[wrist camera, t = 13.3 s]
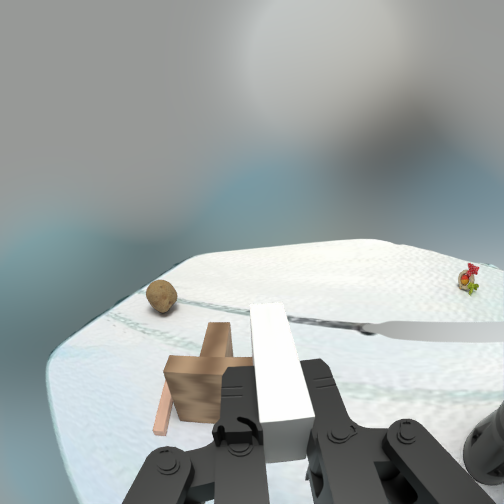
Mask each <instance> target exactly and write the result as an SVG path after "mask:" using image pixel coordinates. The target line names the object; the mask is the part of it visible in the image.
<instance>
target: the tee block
mask: <svg viewBox="0 0 504 504" xmlns="http://www.w3.org/2000/svg"><path fill="white" fill-rule="evenodd" d="M236 366H253V357H233V349H232V339H231V328H230V322H209V323H208V327H207V330H206V334H205V338H204V342H203V346H202V349H201V353H200V357H194V356H174V355H169V358H168V361H167V363H166V366H165V368H164V371H163V373H164V376H165V379H166V382H167V385H168V388H169V391H170V394H171V397H172V400H173V402H174V405H175V408H176V411H177V413H178V416H179V419H180V421H186V422H198V423H213V424H215V423H216V422H217V421H218V420H219V419H220V404H221V383H222V375H223V374H224V372H225V370H226V369H227V367H236Z"/></svg>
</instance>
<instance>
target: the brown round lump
mask: <svg viewBox="0 0 504 504" xmlns="http://www.w3.org/2000/svg"><path fill="white" fill-rule="evenodd" d="M146 297H147V299H148V301H149V303H150V304H151V306H152V307H153V308H154V309H156V310H157V311H159V312H161V313H165V312H167V311H168V310H169V309H170V307H171V306H172V305H173V304H174V303H175V302H176V301H177V292H176V290H175V289H174V287H173V286H172V285H171V284H170V283H169V282H167V281H165V280H156V281H154V282H152V283H151V284H150V285H149V287H148V288H147V291H146Z"/></svg>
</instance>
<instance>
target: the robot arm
mask: <svg viewBox="0 0 504 504" xmlns="http://www.w3.org/2000/svg"><path fill="white" fill-rule="evenodd" d="M250 321H251V341H252V357H253V366H236V367H227V369H226V370H225V372H224V374H223V375H222V383H221V404H220V419H219V420H218V421H217V422H216V423H215V424H214V427H213V430H212V435H213V438H214V441H213V442H212V443H210V444H209V445H207V446H205V447H202V448H199V449H195V450H191V451H186V452H184V451H183V450H181V449H178V448H176V447H169V446H166V447H160V448H157V449H156V450H154V451H152V452H151V453H150V454H149V455H148V457H147V458H146V460H145V462H144V464H143V465H142V467H141V469H140V471H139V473H138V475H137V477H136V478H135V480H134V482H133V484H132V486H131V488H130V489H129V491H128V493H127V495H126V497H125V499H124V501H123V502H122V504H205V501H209V500H213V499H214V504H270V502H269V493H268V483H267V474H266V464H265V463H277V462H286V461H294V460H302V459H306V455H307V457H308V461H309V466H308V469H307V473H306V479H305V481H306V480H309V481H310V486H311V491H312V496H313V501H314V504H496V503H495V502H494V501H493V500H492V499H491V498H490V497H489V495H488V494H487V493H486V492H485V491H484V490H483V489H482V488H481V487H480V486H479V485H478V484H477V483H476V482H475V481H474V479H476V480H477V481H479V482H481V483H483V484H487V485H496V484H500V483H503V482H504V401H503V402H502V404H501V405H500V407H499V408H498V409H497V410H495V411H494V412H493V413H491V414H490V415H489V416H487V417H486V418H485V419H483V420H482V421H481V422H480V423H478V424H477V426H476V427H475V428H474V429H473V431H472V432H471V433H470V434H469V436H468V438H467V440H466V442H465V446H464V462H465V465H466V468H467V470H468V472H469V473H470V474H471V476H472V477H473V478H474V479H473V478H472V477H471V476H470V475H469V474H468V473H467V472H466V471H465V470H464V469H463V468H462V467H461V466H460V465H459V464H458V463H457V461H456V460H455V459H454V458H453V457H452V456H451V455H450V454H449V453H448V452H447V451H446V450H445V449H444V448H443V447H442V446H441V445H440V443H439V442H438V441H437V440H436V439H435V438H434V437H433V436H432V435H431V434H430V433H429V432H428V431H427V430H426V429H425V428H424V427H423V426H422V425H421V424H420V423H419V422H417V421H415V420H412V419H401V420H398V421H395V422H394V423H393V424H392V425H391V426H390V427H389V428H365V427H362V426H359V425H357V424H356V423H355V422H353V421H352V420H351V419H350V417H349V416H348V414H347V411H346V408H345V406H344V403H343V401H342V398H341V396H340V393H339V390H338V388H337V386H336V383H335V380H334V378H333V375H332V373H331V370H330V368H329V366H328V365H327V364H326V363H325V362H324V361H323V360H321V359H312V360H303V361H299V357H298V354H297V351H296V347H295V344H294V340H293V337H292V333H291V330H290V326H289V323H288V320H287V316H286V313H285V309H284V306H283V303H282V302H279V303H264V304H250Z"/></svg>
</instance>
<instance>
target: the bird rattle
mask: <svg viewBox="0 0 504 504" xmlns="http://www.w3.org/2000/svg"><path fill="white" fill-rule="evenodd" d="M468 268H469V270H463V271H462V272H461V273H460V274H459V277H458V283H459V285H460V289H464V290H467V289H470V291H469V295H470V294H471V293H472V291H473V288H474V290H477V288H478V287H479V285H478V284H474V275H473V274H475V275H477V274H478V272H477V271H478V269H479V267H477V266H474V265H473V264H471V263H468ZM465 274H467V275H465ZM469 277H470V279H469ZM469 280H470V282H469ZM468 283H469V284H468ZM467 284H468V285H467ZM466 285H467V286H466Z"/></svg>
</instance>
